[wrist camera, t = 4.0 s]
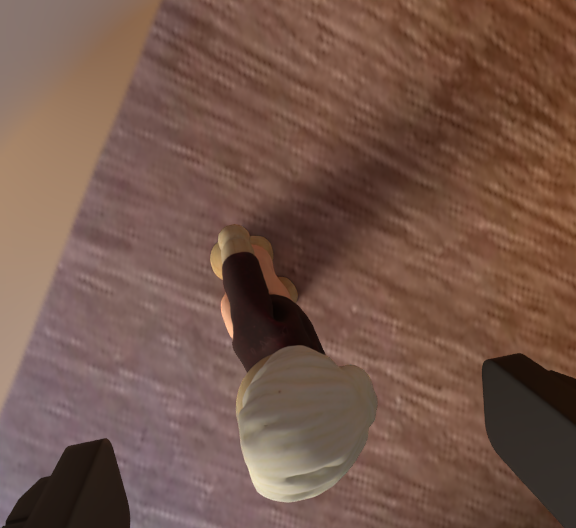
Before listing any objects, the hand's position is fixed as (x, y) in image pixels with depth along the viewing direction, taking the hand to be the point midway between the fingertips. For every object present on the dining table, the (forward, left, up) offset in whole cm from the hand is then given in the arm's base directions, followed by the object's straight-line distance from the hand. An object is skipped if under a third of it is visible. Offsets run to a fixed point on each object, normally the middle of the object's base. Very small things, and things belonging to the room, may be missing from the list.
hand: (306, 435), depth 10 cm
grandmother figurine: (0, 0, -12) cm, 12 cm away
